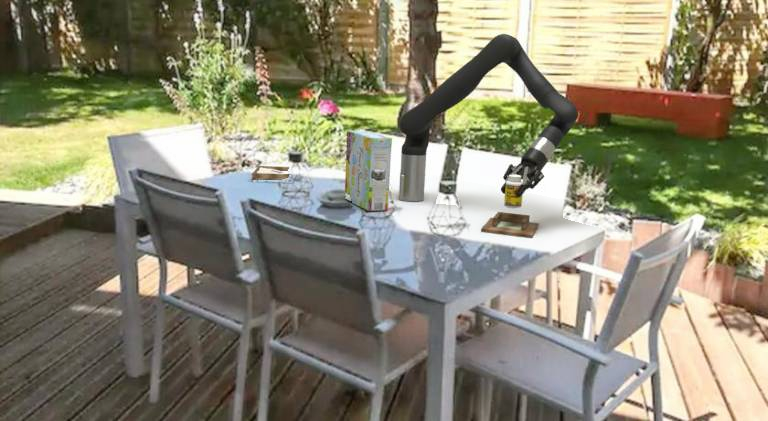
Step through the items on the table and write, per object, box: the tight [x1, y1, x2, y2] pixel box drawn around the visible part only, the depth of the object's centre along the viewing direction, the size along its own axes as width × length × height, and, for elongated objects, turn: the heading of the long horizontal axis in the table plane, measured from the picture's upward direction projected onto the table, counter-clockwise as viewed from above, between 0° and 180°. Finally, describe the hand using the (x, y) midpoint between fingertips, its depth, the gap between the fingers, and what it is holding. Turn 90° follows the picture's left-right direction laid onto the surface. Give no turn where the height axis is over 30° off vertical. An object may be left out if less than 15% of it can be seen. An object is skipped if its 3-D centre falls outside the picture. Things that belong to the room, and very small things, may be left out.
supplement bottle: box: [503, 175, 523, 209], centre depth 228 cm, size 6×6×10 cm
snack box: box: [344, 130, 393, 212], centre depth 253 cm, size 22×9×26 cm, turn 26°
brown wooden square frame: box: [480, 211, 540, 239], centre depth 230 cm, size 16×16×4 cm
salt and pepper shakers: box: [257, 167, 283, 174], centre depth 294 cm, size 12×4×11 cm
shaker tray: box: [251, 165, 290, 181], centre depth 295 cm, size 16×17×4 cm
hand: (509, 193), depth 227 cm, fingers closed on supplement bottle, 5 cm apart
